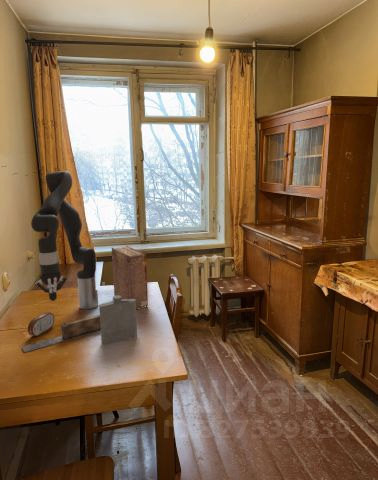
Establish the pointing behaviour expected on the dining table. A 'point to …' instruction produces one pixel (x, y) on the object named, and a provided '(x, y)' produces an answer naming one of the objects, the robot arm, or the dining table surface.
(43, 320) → the tin
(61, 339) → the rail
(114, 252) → the book
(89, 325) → the brown wooden block
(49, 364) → the dining table surface
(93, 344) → the dining table surface
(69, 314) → the dining table surface
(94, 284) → the robot arm
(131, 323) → the hip flask
